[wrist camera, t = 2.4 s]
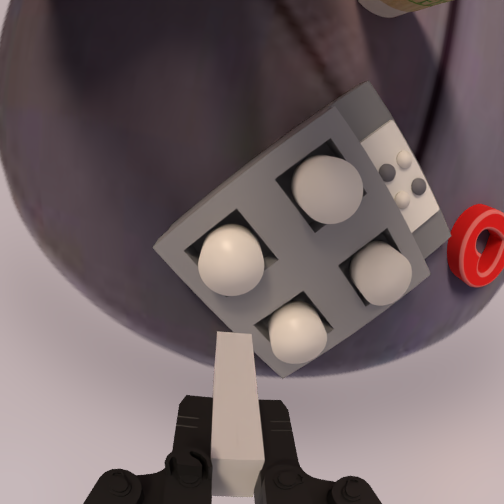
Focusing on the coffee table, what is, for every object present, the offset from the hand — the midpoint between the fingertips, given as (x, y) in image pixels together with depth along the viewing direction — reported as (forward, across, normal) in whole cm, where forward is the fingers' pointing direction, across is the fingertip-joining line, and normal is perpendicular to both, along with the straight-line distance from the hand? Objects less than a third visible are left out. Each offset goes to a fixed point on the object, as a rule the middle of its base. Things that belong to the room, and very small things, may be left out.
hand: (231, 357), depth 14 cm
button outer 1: (+13, +6, -6) cm, 16 cm away
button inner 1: (+13, 0, 0) cm, 13 cm away
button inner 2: (+13, +6, +7) cm, 16 cm away
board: (+17, +8, +2) cm, 19 cm away
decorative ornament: (+17, +29, +3) cm, 34 cm away
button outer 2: (+13, +13, 0) cm, 18 cm away
